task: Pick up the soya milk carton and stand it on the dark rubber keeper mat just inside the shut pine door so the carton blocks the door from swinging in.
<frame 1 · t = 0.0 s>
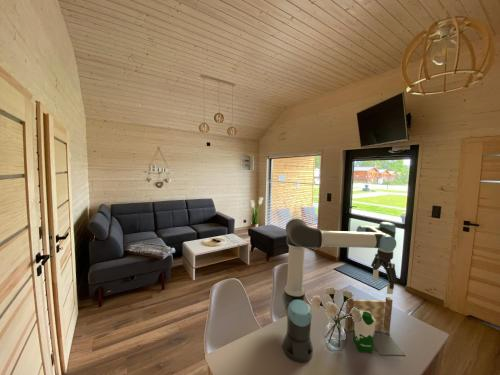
hand: (382, 286, 121), 28 cm above the table, fingers open, 13 cm apart
keeper pad: (384, 344, 115), on the table
door frame: (367, 330, 125), on the table
soya milk: (362, 347, 113), on the table
door: (368, 316, 123), point 9 cm above the table, hinge at 0.0°
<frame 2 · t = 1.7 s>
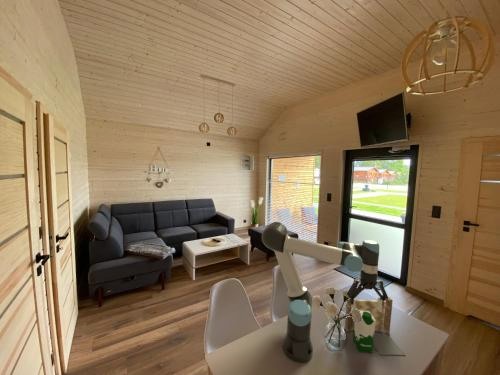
hand: (366, 310, 111), 21 cm above the table, fingers open, 13 cm apart
nothing on the table moved.
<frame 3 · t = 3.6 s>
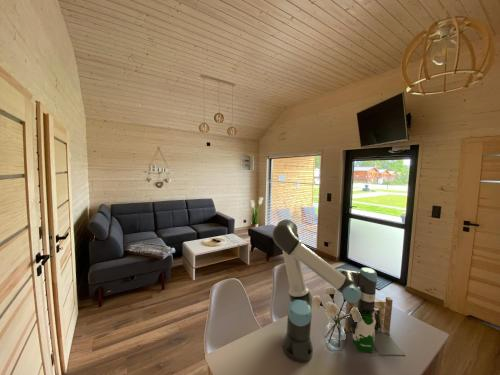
hand: (363, 339, 113), 4 cm above the table, fingers closed on soya milk, 9 cm apart
soya milk: (362, 347, 113), on the table, touching gripper
everything else where it was.
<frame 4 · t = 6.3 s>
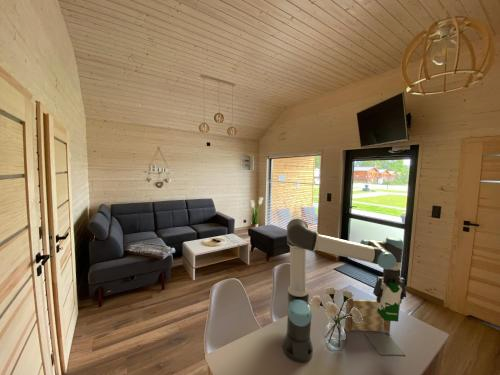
hand: (388, 308, 113), 21 cm above the table, fingers closed on soya milk, 9 cm apart
soya milk: (387, 316, 114), point 16 cm above the table, touching gripper
everything else where it was.
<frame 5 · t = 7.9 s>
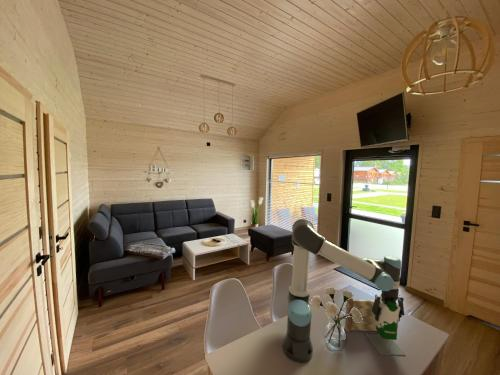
hand: (386, 326, 114), 11 cm above the table, fingers closed on soya milk, 9 cm apart
soya milk: (385, 334, 114), point 6 cm above the table, touching gripper
everything else where it was.
when the fingers open (6 cm above the table, at t = 9.3 s): soya milk drops 1 cm, resting on keeper pad.
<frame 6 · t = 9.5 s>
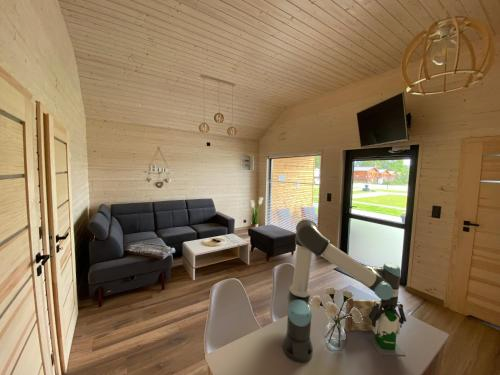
hand: (385, 332, 114), 7 cm above the table, fingers open, 11 cm apart
soya milk: (384, 344, 115), resting on keeper pad
everything else where it was.
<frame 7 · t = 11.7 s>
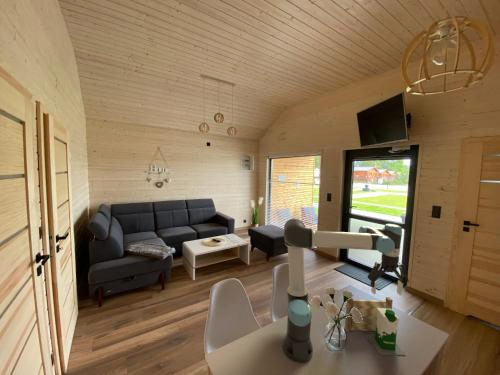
hand: (386, 293, 113), 29 cm above the table, fingers open, 13 cm apart
nothing on the table moved.
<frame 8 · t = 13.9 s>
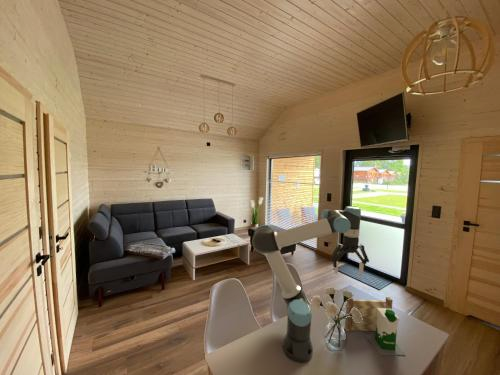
hand: (348, 273, 117), 37 cm above the table, fingers open, 13 cm apart
nothing on the table moved.
at the end: soya milk inside the target area on the keeper pad (0.1 cm from its centre), point 0.2 cm above the keeper pad's base; soya milk tilted 0°; door at +0° (first picture: +0°) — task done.
